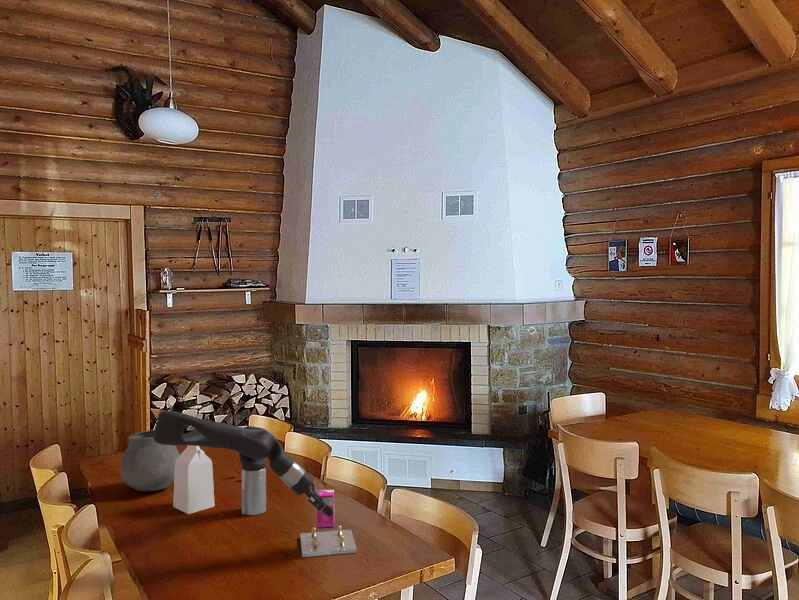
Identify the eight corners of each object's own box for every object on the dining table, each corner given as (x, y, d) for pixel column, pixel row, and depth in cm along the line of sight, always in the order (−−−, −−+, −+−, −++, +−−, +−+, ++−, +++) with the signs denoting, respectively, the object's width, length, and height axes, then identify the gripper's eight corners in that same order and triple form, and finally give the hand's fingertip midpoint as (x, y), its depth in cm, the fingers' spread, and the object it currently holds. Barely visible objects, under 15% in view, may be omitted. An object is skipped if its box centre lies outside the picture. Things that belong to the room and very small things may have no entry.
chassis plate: (302, 557, 204) (301, 543, 204) (300, 537, 220) (300, 525, 220) (356, 552, 207) (356, 539, 207) (351, 533, 223) (351, 521, 223)
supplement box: (317, 522, 215) (317, 489, 215) (334, 522, 216) (335, 489, 215) (316, 528, 210) (316, 495, 209) (333, 528, 210) (334, 495, 210)
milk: (173, 506, 250) (172, 442, 249) (199, 499, 258) (198, 437, 258) (188, 514, 242) (187, 447, 241) (214, 506, 250) (214, 442, 250)
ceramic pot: (136, 480, 283) (135, 425, 283) (189, 480, 283) (188, 426, 282) (109, 498, 259) (108, 439, 258) (167, 499, 258) (166, 439, 257)
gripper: (288, 479, 217) (321, 511, 219) (288, 493, 203) (324, 527, 205) (303, 463, 218) (337, 496, 220) (305, 476, 204) (340, 510, 206)
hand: (330, 511), depth 213 cm, fingers closed on supplement box, 6 cm apart
